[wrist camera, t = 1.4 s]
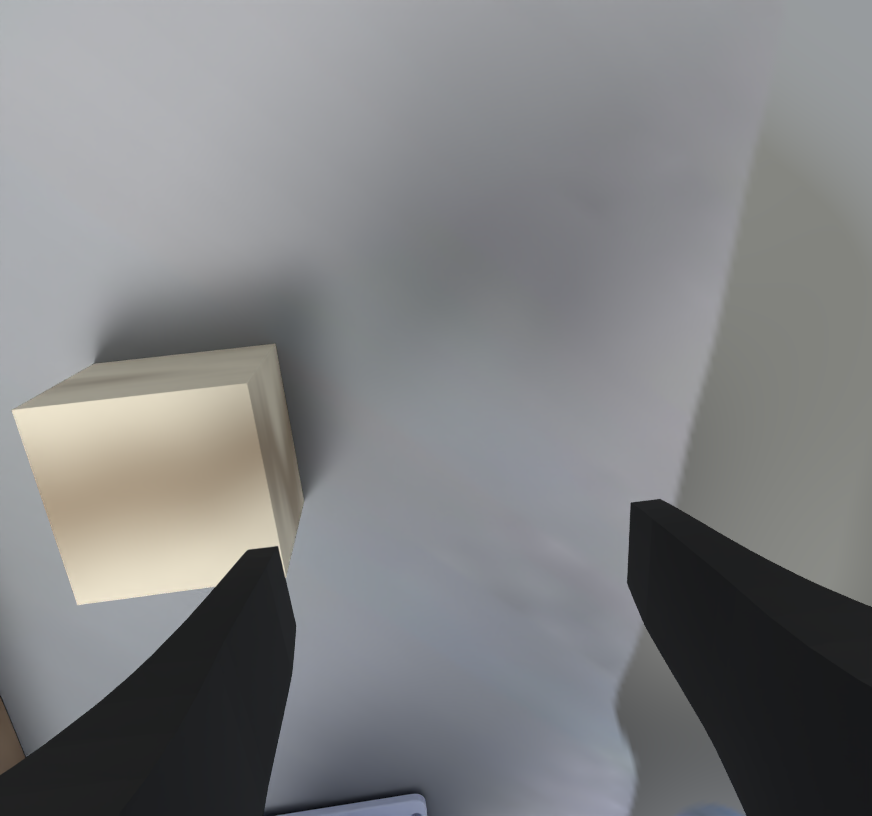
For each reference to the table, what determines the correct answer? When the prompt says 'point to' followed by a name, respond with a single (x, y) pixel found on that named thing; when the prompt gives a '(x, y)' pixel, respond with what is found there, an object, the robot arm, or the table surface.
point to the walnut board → (8, 743)
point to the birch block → (165, 469)
